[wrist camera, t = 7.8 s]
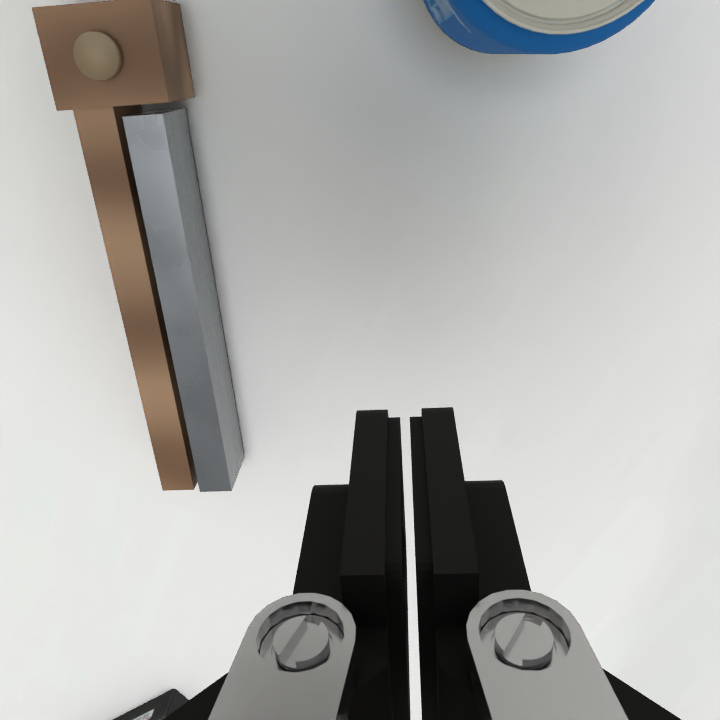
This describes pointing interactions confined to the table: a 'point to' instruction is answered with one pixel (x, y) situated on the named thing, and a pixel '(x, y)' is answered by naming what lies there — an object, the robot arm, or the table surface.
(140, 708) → the disk drive
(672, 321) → the table surface
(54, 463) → the table surface
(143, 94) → the brown bar with block
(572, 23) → the beverage can
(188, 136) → the long gray metal bar
